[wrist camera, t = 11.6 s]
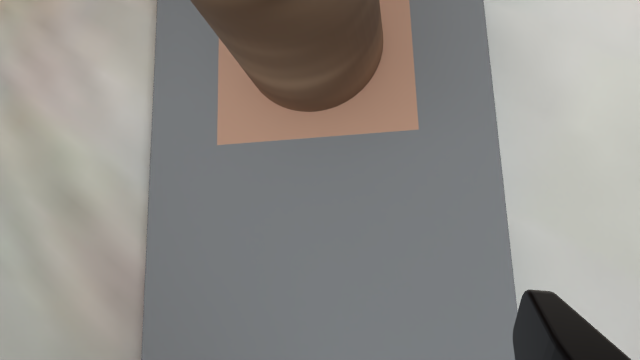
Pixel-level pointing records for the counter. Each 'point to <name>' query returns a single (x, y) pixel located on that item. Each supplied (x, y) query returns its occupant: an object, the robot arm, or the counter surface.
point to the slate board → (329, 203)
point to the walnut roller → (301, 46)
